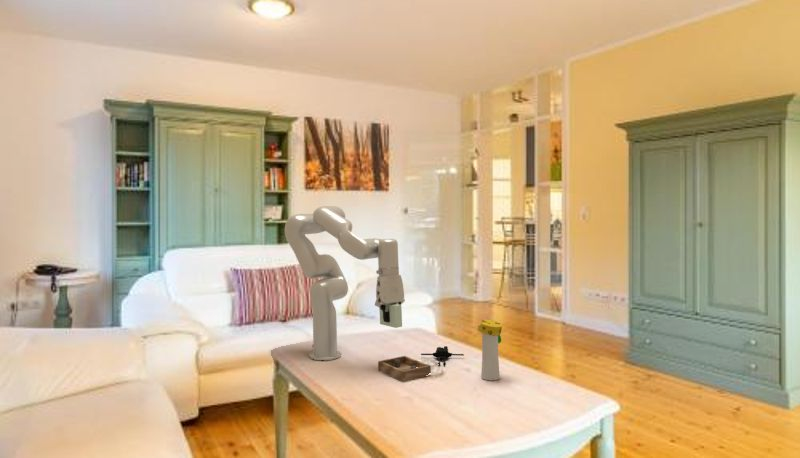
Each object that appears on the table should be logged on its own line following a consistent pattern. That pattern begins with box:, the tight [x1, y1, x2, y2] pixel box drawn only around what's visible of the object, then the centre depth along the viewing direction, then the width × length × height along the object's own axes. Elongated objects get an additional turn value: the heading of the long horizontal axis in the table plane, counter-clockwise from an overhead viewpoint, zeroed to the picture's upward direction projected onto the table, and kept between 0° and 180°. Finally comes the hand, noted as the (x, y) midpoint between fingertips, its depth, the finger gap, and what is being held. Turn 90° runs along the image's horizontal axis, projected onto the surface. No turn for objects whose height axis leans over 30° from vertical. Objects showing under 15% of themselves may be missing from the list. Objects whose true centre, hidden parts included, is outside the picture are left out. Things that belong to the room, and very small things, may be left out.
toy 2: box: [477, 318, 503, 381], centre depth 182 cm, size 8×9×20 cm
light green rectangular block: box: [378, 303, 403, 329], centre depth 195 cm, size 10×3×8 cm, turn 37°
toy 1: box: [420, 345, 465, 367], centre depth 204 cm, size 17×5×15 cm
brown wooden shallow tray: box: [377, 355, 432, 383], centre depth 189 cm, size 16×12×4 cm
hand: (390, 320), depth 195 cm, fingers closed on light green rectangular block, 3 cm apart
